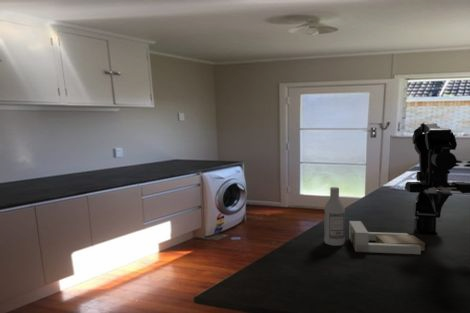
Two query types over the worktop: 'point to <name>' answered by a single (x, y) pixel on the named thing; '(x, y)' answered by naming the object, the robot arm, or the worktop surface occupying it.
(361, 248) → the canopy channel
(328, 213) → the bath foam
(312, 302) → the worktop surface
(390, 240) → the tan wooden block
